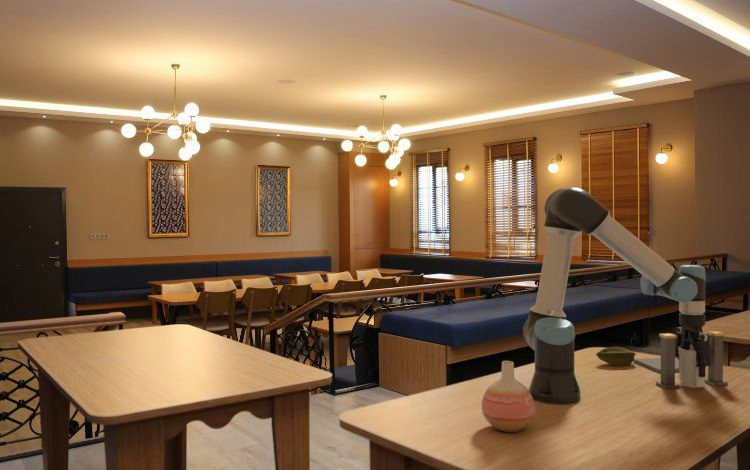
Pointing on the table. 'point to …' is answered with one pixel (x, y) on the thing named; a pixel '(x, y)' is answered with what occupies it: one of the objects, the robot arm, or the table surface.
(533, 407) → the vase
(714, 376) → the post
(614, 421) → the table surface
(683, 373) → the cup
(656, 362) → the pad
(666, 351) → the post
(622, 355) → the fruit
